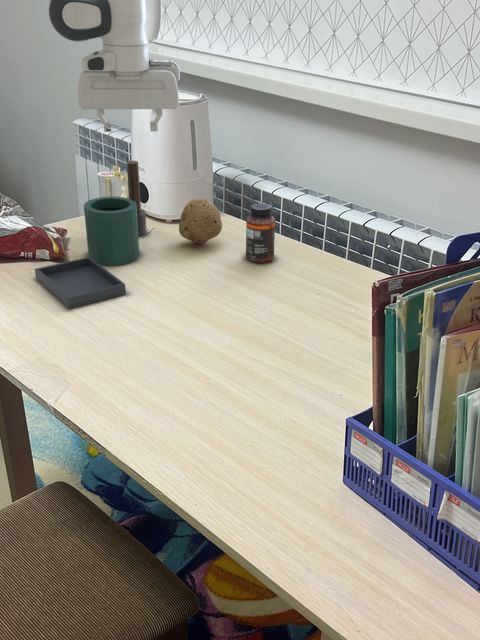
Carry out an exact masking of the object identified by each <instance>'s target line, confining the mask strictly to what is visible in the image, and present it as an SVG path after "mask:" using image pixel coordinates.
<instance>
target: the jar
mask: <svg viewBox="0 0 480 640" xmlns="http://www.w3.org/2000/svg"><path fill="white" fill-rule="evenodd" d="M83 212H84V222H85V233H86V242H87V253H88V257H90V258H92V259H93V260H94V261H96V262H97V263H98V264H100V265H101V266H107V267H108V266H110V267H111V266H114V267H115V266H123V265H127V264H131V263H133V262H135V261H136V260H138V259H139V257H140V244H139V243H140V242H139V241H140V239H139V237H138V222H137V204H136V202H135V201H133V200H131V199H129V197H128V198H127V197H124V196H101V197H95V198H92V199H90V200H87V201H86V202H85V203H84V204H83Z"/></svg>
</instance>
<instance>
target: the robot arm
mask: <svg viewBox="0 0 480 640" xmlns="http://www.w3.org/2000/svg"><path fill="white" fill-rule="evenodd" d="M47 1H48V3H49V5H48V16H49V20H50V23H51V25H52V27H53V28H54V30H55V31H56V32H57V33H58V34H59V35H60V36H61V37H62V38H64V39H67V40H68V41H72V42H78V43H79V42H80V43H81V42H86V41H88V40H93V39H98V38H101V39H102V40H101V42H102V49H100V50H96V51H94V52H91V53H88V54H84V56H82V58H81V60H80V65H81V69H82V71H81V72H80V74H79V78H78V83H77V105H78V106H79V107H80V108H81V109H82V110H96V115H97V117H98V119H99V120H100V121H101V123H102V124H103V132H104V133H111V132H113V131H112V121H110V120H109V121H108V120H107V119H106V117H105V116H104V115H105V110H154V112H155V113H154V114H155V115H156V116H155V118H154V119H153V120H150V121H149V129H150V130H149V131H150V132H158V131H159V128H158V124H159V122H160V120H161V118H162V116H163V110H176V109H177V108H178V107H179V106H180V95H179V94H180V93H179V89H178V88H179V87H178V83H179V81H180V79H181V69H180V66H179V65H178V64H177V63H176V62H174V61H173V60H171V59H164V60H163V59H162V60H161V59H150V47H149V39H148V36H147V30H146V29H147V22H148V9H147V8H148V7H147V0H47Z"/></svg>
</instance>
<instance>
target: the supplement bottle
mask: <svg viewBox="0 0 480 640" xmlns="http://www.w3.org/2000/svg"><path fill="white" fill-rule="evenodd" d="M271 210H272V206H271V205H270V204H268V203H261V202H259V203H258V202H257V203H253V204H252V205H251V207H250V214H248V215H247V217H246V221H245V223H246V224H245V257H246V260H248V261H250V262H252V263H253V262H254V263H259V264H260V263H261V264H262V263H268V262H271V261H272V260H273V259H274V258H275V239H276V236H275V234H276V219H275V217H274V216H273V215H272V211H271Z"/></svg>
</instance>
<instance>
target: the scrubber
mask: <svg viewBox="0 0 480 640" xmlns="http://www.w3.org/2000/svg"><path fill="white" fill-rule="evenodd" d="M139 168H140V167H139V161H137V160H127V161H126V172H127V188H128V189H127V190H128V191H127V192H128V199H131V200H133V201H135V202H136V204H137V222H138V238H140V237H141V238H142V237H144V236H146V235H147V219H146V218H147V217H146V216H147V215H146V211H145V210H144V209H142V207H141V205H142V204H141V188H140V187H141V186H140V171H139Z"/></svg>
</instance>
